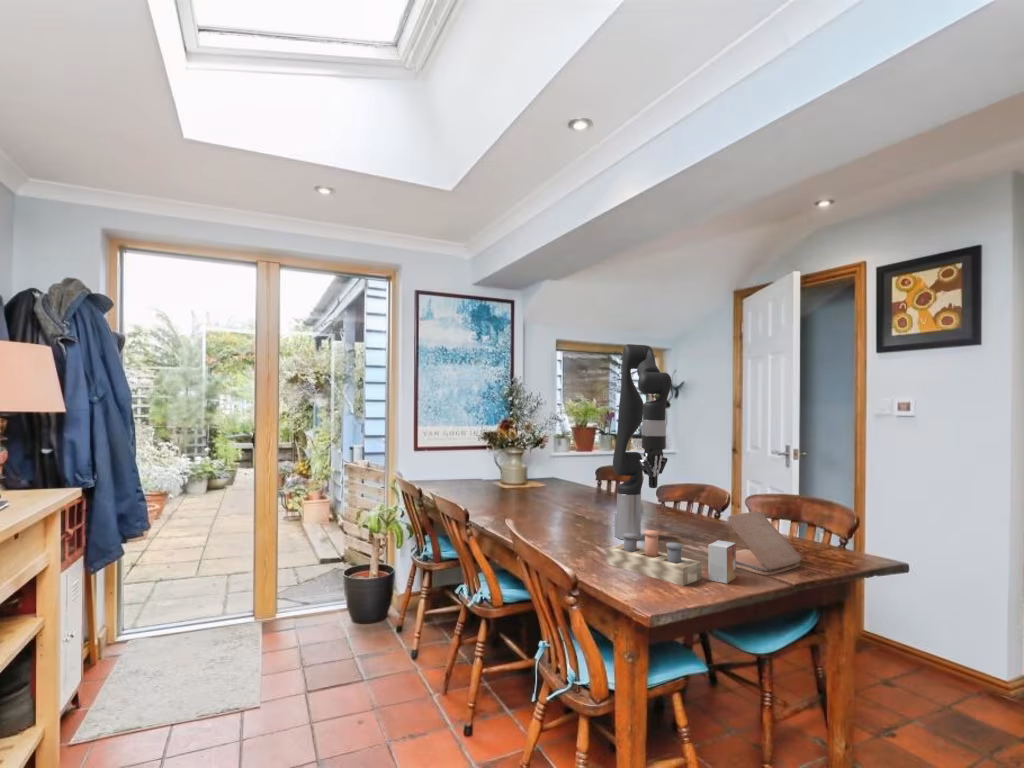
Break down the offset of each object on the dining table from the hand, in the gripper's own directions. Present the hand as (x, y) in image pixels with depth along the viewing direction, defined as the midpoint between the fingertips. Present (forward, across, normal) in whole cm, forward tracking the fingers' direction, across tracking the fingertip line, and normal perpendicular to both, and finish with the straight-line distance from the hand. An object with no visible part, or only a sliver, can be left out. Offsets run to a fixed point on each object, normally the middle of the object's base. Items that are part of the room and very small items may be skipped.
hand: (652, 487), depth 178 cm
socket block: (+25, +6, +4) cm, 26 cm away
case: (+25, -29, +20) cm, 43 cm away
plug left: (+25, +6, -4) cm, 26 cm away
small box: (+25, -5, +22) cm, 33 cm away
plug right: (+25, +5, +12) cm, 28 cm away
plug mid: (+22, +6, +4) cm, 23 cm away
